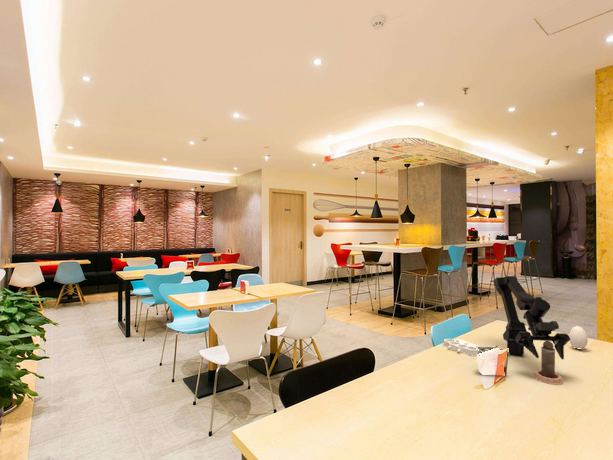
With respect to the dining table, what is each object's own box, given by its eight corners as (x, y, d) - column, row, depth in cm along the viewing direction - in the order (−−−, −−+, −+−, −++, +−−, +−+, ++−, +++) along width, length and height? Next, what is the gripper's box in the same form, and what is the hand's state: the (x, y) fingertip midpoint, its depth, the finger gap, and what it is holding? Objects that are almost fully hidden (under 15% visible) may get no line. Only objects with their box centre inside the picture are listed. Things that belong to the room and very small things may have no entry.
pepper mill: (540, 378, 136) (540, 341, 136) (542, 374, 139) (542, 338, 139) (554, 381, 133) (554, 343, 133) (555, 377, 136) (555, 341, 136)
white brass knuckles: (488, 353, 164) (468, 358, 158) (456, 342, 180) (437, 346, 174) (488, 346, 164) (468, 351, 158) (456, 336, 180) (437, 340, 174)
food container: (502, 370, 144) (502, 347, 144) (510, 376, 138) (510, 352, 138) (472, 368, 145) (472, 345, 145) (478, 375, 139) (478, 351, 139)
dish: (536, 381, 133) (536, 377, 133) (531, 372, 142) (531, 368, 142) (566, 386, 129) (566, 381, 129) (559, 376, 138) (559, 372, 138)
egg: (572, 351, 167) (572, 327, 167) (566, 346, 175) (566, 323, 175) (590, 352, 165) (590, 328, 165) (583, 347, 172) (583, 324, 172)
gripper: (518, 312, 141) (532, 347, 130) (567, 314, 138) (586, 350, 127) (510, 325, 149) (522, 360, 138) (556, 327, 146) (572, 363, 135)
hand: (550, 358), depth 134 cm, fingers open, 9 cm apart
